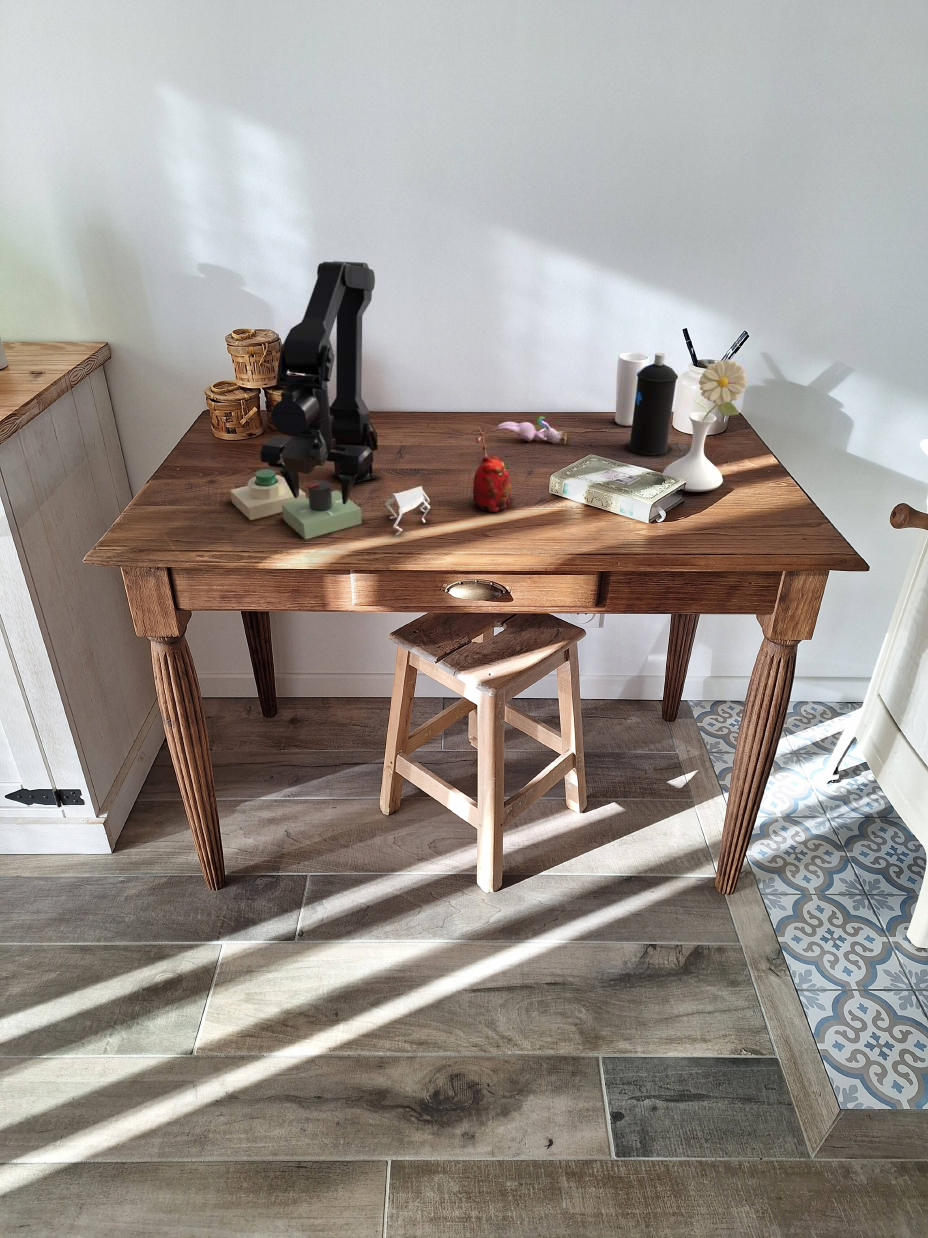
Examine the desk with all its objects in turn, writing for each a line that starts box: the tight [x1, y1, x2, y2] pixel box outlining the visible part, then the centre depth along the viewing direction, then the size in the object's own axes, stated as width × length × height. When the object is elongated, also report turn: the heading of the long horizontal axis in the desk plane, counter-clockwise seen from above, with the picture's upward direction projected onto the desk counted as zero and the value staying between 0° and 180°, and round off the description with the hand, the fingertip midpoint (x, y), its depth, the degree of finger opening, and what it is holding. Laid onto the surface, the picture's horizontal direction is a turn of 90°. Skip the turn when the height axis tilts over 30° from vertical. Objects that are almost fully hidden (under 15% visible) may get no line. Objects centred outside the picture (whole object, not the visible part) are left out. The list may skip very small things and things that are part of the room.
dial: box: [307, 480, 333, 511], centre depth 148 cm, size 4×4×4 cm
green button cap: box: [254, 468, 277, 486], centre depth 154 cm, size 4×4×2 cm
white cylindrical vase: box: [614, 352, 650, 427], centre depth 190 cm, size 7×7×15 cm
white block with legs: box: [384, 485, 431, 536], centre depth 149 cm, size 12×8×5 cm
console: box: [282, 490, 363, 540], centre depth 150 cm, size 11×9×3 cm
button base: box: [229, 474, 307, 521], centre depth 156 cm, size 11×9×4 cm
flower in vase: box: [662, 358, 748, 493], centre depth 158 cm, size 13×11×25 cm
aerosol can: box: [627, 352, 679, 457], centre depth 175 cm, size 8×8×20 cm
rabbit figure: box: [497, 416, 568, 445], centre depth 182 cm, size 6×6×15 cm
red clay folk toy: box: [472, 426, 512, 513], centre depth 153 cm, size 8×7×15 cm
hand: (320, 500), depth 149 cm, fingers open, 9 cm apart
